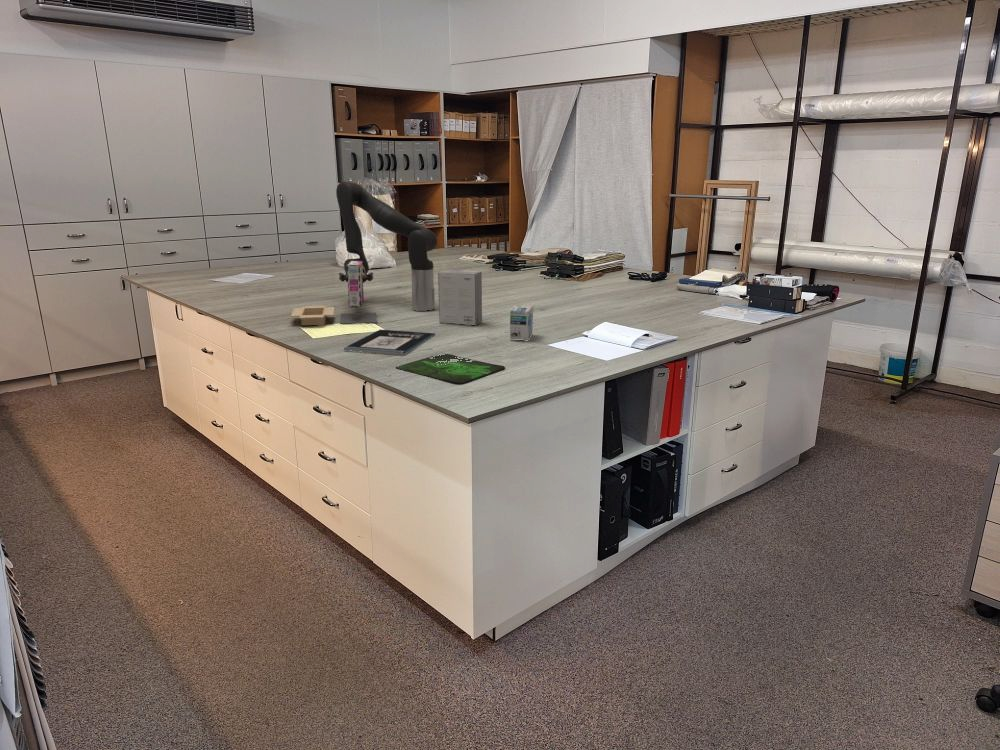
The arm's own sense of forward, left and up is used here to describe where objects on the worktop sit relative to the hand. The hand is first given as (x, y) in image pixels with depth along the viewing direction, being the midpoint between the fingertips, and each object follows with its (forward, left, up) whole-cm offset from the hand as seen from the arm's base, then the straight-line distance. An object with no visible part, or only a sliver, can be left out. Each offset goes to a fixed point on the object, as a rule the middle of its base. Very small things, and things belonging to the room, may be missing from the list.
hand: (356, 280), depth 264 cm
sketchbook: (-11, +40, -16) cm, 45 cm away
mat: (0, 0, -15) cm, 15 cm away
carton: (+17, +2, -15) cm, 23 cm away
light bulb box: (-57, +40, -16) cm, 72 cm away
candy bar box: (0, 0, -10) cm, 10 cm away
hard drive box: (-39, +13, -16) cm, 44 cm away
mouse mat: (-27, +74, -16) cm, 81 cm away
